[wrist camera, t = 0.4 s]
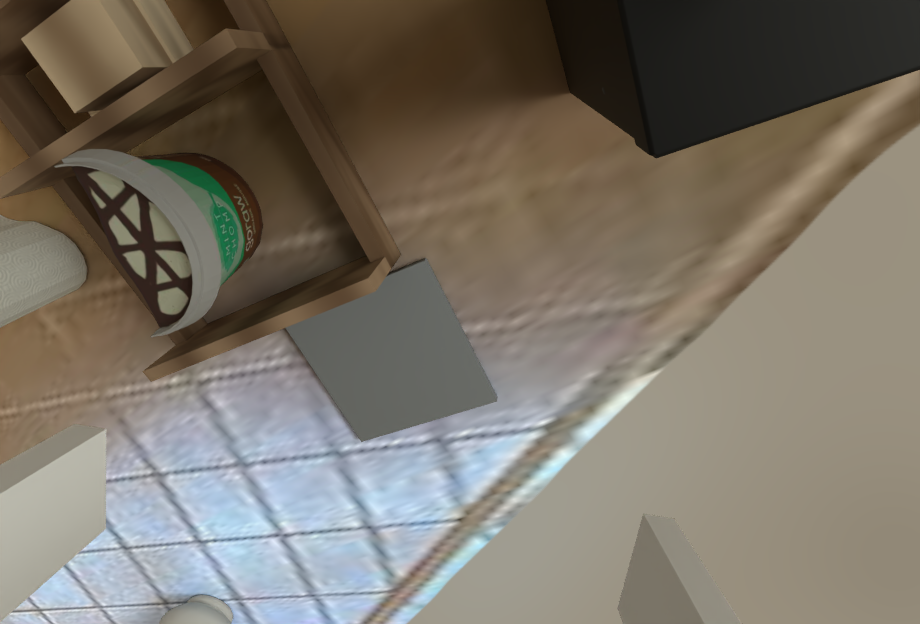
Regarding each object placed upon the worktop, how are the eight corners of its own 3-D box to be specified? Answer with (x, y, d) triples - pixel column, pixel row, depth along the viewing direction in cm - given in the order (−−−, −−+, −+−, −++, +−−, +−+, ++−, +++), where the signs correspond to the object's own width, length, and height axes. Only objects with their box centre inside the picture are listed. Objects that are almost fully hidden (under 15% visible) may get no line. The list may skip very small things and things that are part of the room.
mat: (426, 257, 38) (424, 260, 38) (497, 397, 43) (496, 401, 43) (283, 316, 42) (280, 319, 42) (363, 437, 47) (361, 441, 47)
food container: (300, 272, 40) (235, 331, 31) (235, 284, 42) (154, 344, 33) (238, 114, 35) (139, 131, 26) (166, 134, 36) (48, 156, 28)
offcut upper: (128, -8, 30) (89, -15, 27) (175, 67, 32) (142, 67, 29) (63, 40, 32) (20, 39, 29) (110, 109, 33) (74, 113, 31)
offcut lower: (165, -3, 33) (132, -9, 30) (206, 65, 34) (178, 65, 32) (83, 55, 35) (47, 54, 32) (125, 116, 37) (94, 121, 34)
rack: (216, -94, 30) (133, -135, 24) (401, 254, 38) (375, 291, 32) (3, 68, 36) (-107, 69, 30) (204, 337, 44) (151, 381, 38)
